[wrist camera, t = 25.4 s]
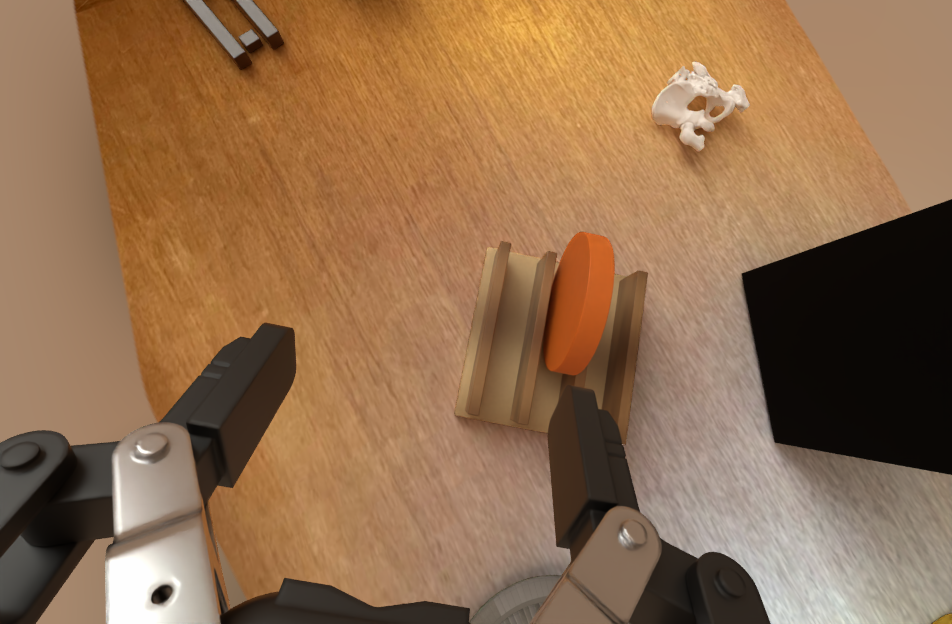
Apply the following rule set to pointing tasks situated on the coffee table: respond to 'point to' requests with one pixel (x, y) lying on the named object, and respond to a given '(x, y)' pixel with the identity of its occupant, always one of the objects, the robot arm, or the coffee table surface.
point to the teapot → (944, 620)
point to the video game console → (862, 342)
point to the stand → (247, 39)
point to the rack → (541, 346)
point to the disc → (578, 303)
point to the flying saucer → (516, 602)
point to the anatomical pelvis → (681, 92)
